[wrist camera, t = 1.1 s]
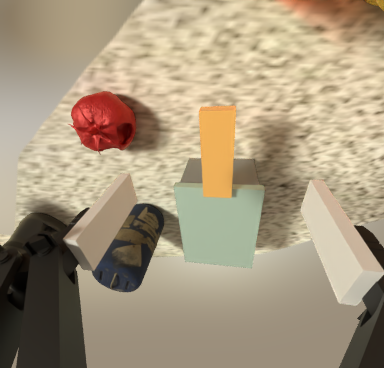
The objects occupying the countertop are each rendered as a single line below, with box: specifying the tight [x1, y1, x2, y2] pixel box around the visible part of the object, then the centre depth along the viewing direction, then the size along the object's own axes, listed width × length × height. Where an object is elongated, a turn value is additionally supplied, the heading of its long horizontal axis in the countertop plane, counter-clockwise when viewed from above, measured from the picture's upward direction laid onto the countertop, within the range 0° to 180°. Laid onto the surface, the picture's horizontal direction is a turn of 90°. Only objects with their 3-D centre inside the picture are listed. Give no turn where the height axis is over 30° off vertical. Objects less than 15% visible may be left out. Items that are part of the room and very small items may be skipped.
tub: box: [180, 158, 259, 185], centre depth 38 cm, size 12×18×9 cm, turn 4°
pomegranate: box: [69, 91, 136, 155], centre depth 32 cm, size 10×10×9 cm
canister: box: [92, 204, 164, 292], centre depth 42 cm, size 10×10×18 cm
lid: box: [174, 106, 265, 268], centre depth 30 cm, size 13×30×2 cm, turn 4°
